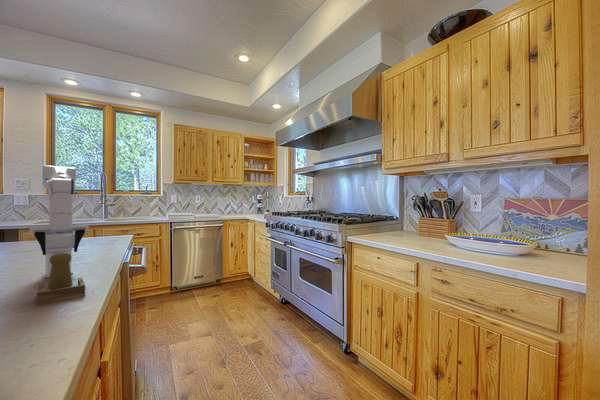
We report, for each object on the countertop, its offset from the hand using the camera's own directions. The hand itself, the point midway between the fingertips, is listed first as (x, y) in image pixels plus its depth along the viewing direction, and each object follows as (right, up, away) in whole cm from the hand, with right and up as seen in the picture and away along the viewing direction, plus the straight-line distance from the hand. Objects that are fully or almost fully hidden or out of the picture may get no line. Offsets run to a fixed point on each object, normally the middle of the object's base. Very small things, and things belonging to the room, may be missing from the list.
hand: (60, 253), depth 85 cm
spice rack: (+10, -11, -10) cm, 18 cm away
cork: (+3, -11, -3) cm, 11 cm away
